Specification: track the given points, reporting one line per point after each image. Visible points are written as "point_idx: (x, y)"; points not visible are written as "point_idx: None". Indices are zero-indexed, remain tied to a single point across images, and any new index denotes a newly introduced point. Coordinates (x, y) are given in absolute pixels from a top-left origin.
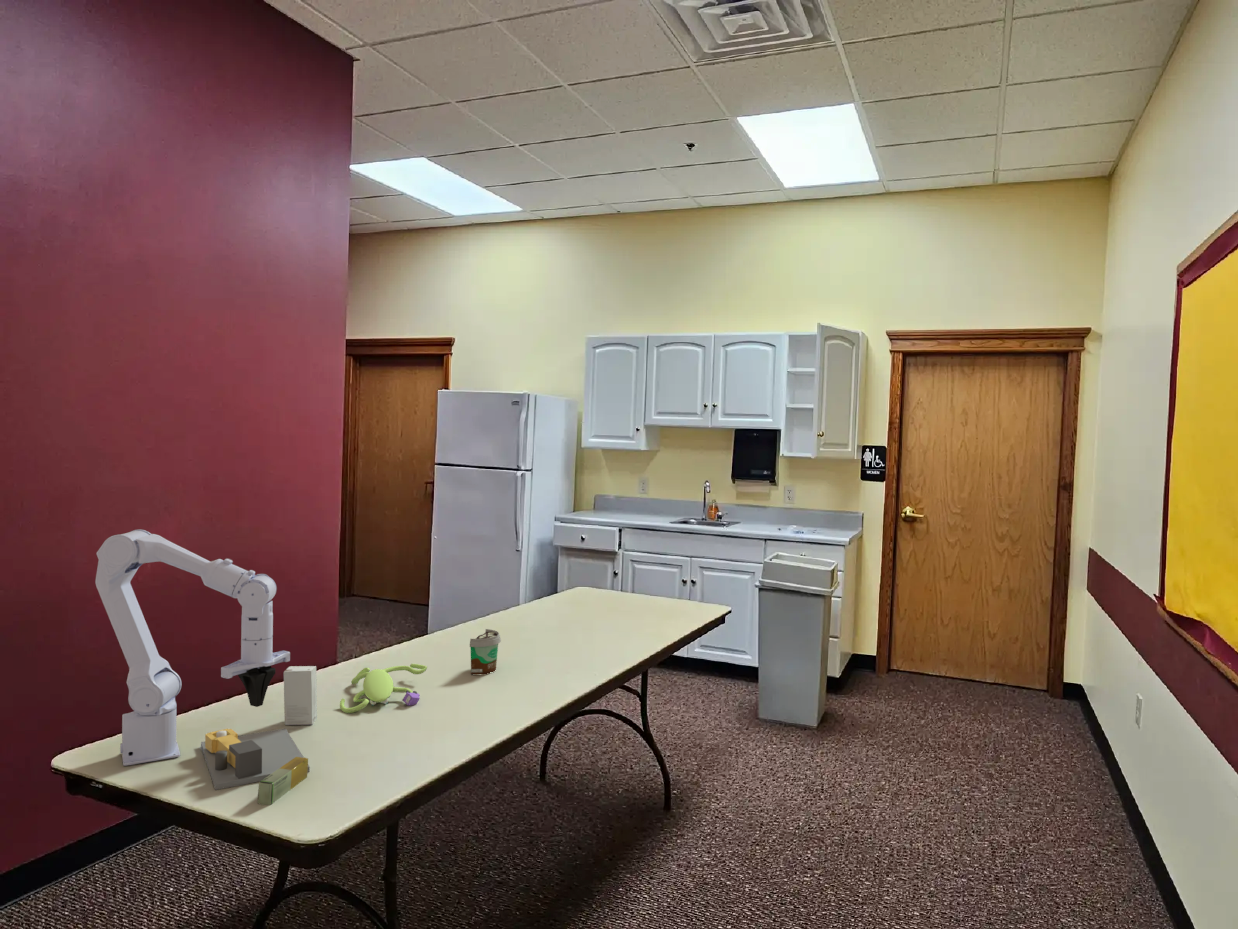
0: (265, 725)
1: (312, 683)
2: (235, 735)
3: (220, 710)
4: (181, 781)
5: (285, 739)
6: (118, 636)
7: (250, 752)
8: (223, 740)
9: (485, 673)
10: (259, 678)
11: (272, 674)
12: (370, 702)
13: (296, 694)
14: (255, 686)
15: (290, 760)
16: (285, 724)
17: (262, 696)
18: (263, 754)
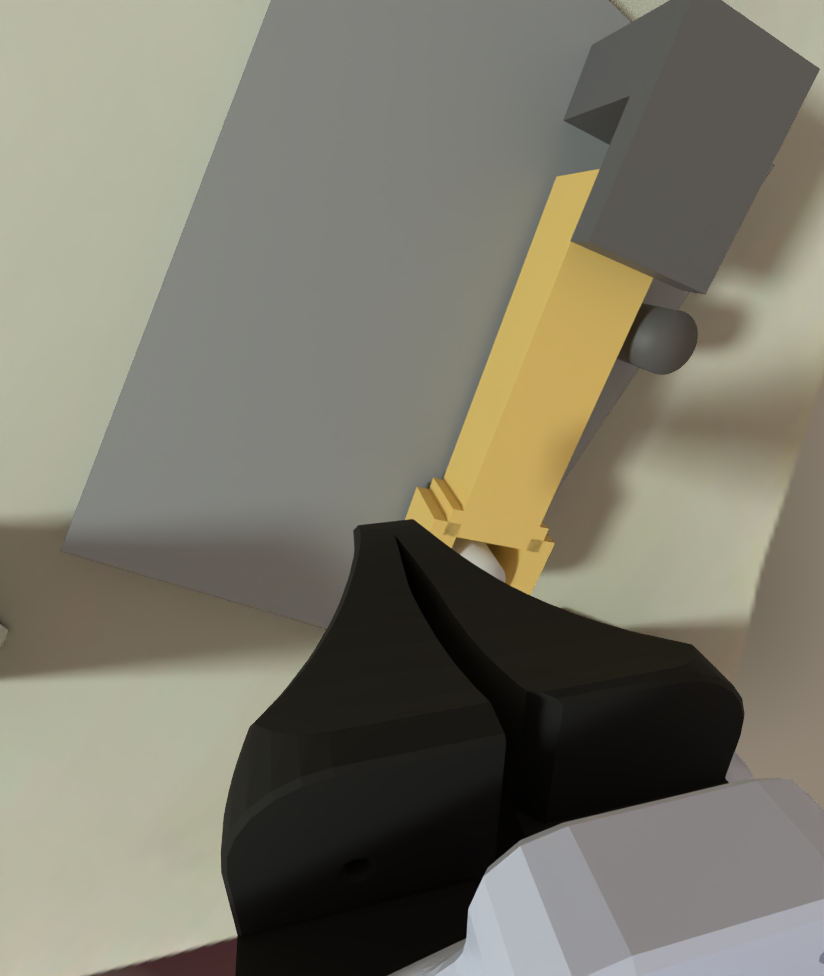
0: (92, 690)
1: None
2: (456, 508)
3: (143, 919)
4: (712, 395)
5: (165, 397)
6: None
7: (758, 30)
8: (537, 491)
9: None
10: (609, 653)
11: (326, 705)
12: None
13: None
14: (561, 610)
15: (365, 44)
16: (5, 630)
17: (390, 554)
18: (393, 302)
